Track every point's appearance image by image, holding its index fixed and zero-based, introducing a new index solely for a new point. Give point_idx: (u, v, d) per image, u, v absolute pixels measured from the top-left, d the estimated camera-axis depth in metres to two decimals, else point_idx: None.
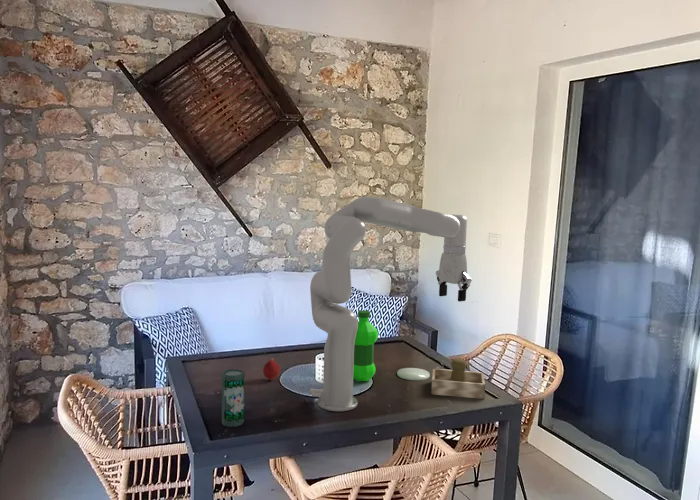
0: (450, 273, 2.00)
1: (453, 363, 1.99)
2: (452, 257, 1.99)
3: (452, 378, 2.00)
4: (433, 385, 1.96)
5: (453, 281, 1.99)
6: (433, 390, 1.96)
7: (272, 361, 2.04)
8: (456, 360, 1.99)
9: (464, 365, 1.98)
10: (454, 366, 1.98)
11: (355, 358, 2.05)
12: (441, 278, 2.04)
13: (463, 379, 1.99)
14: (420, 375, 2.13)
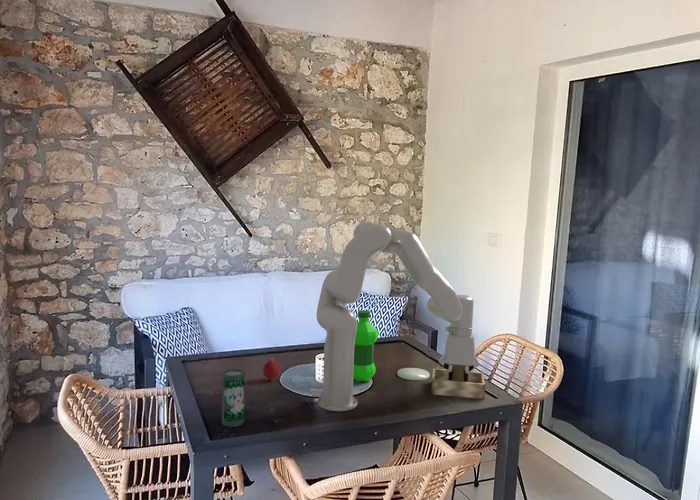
0: (464, 356, 1.97)
1: None
2: (467, 339, 1.96)
3: None
4: (433, 385, 1.96)
5: (469, 364, 1.97)
6: (433, 390, 1.96)
7: (272, 361, 2.04)
8: None
9: None
10: (454, 366, 1.98)
11: (355, 358, 2.05)
12: (450, 362, 1.98)
13: (463, 379, 1.99)
14: (420, 375, 2.13)
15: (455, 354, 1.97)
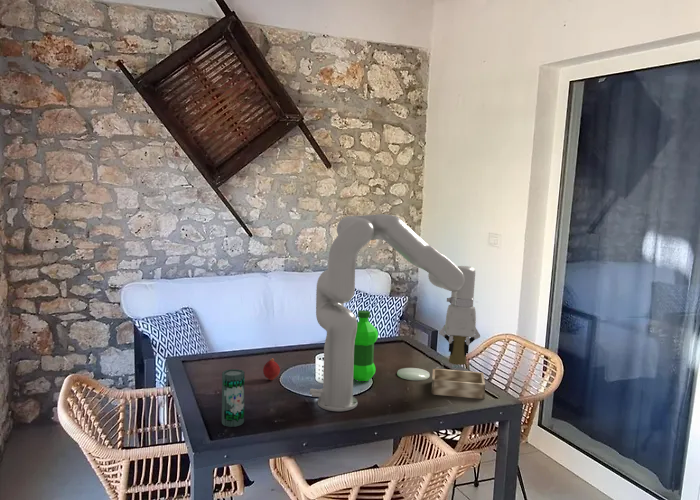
0: (465, 327, 1.95)
1: None
2: (468, 310, 1.95)
3: None
4: (433, 385, 1.96)
5: (470, 335, 1.95)
6: (433, 390, 1.96)
7: (272, 361, 2.04)
8: None
9: None
10: (455, 337, 1.97)
11: (355, 358, 2.05)
12: (451, 332, 1.96)
13: (463, 351, 1.98)
14: (420, 375, 2.13)
15: (456, 325, 1.96)
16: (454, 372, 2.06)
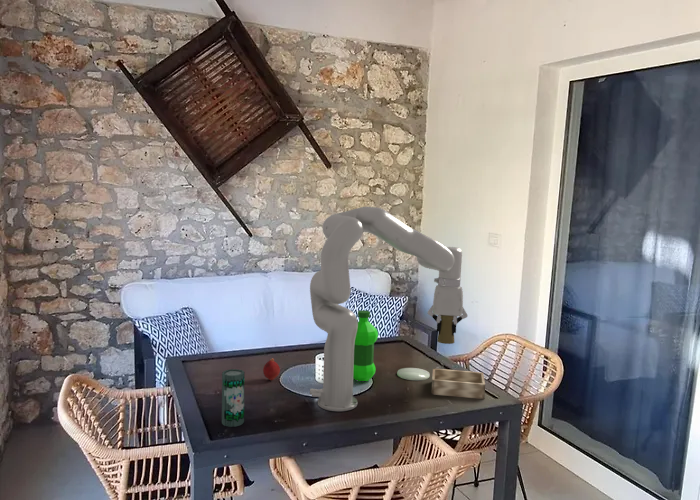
0: (452, 306, 1.99)
1: None
2: (455, 290, 1.98)
3: None
4: (433, 385, 1.96)
5: (457, 314, 1.99)
6: (433, 390, 1.96)
7: (272, 361, 2.04)
8: None
9: (452, 316, 2.00)
10: (442, 317, 2.01)
11: (355, 358, 2.05)
12: (438, 312, 2.00)
13: (451, 330, 2.01)
14: (420, 375, 2.13)
15: (443, 305, 1.99)
16: (454, 372, 2.06)
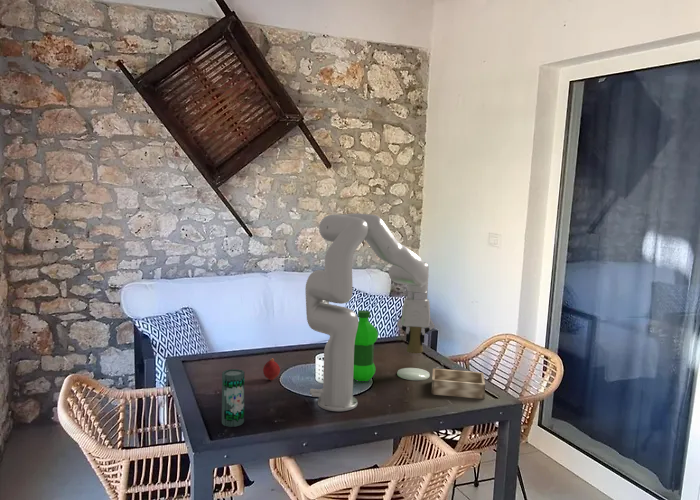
0: (420, 318, 2.10)
1: None
2: (422, 303, 2.09)
3: None
4: (433, 385, 1.96)
5: (424, 325, 2.10)
6: (433, 390, 1.96)
7: (272, 361, 2.04)
8: None
9: (420, 327, 2.12)
10: (411, 328, 2.12)
11: (355, 358, 2.05)
12: (407, 324, 2.11)
13: (419, 340, 2.12)
14: (420, 375, 2.13)
15: (411, 317, 2.11)
16: (454, 372, 2.06)
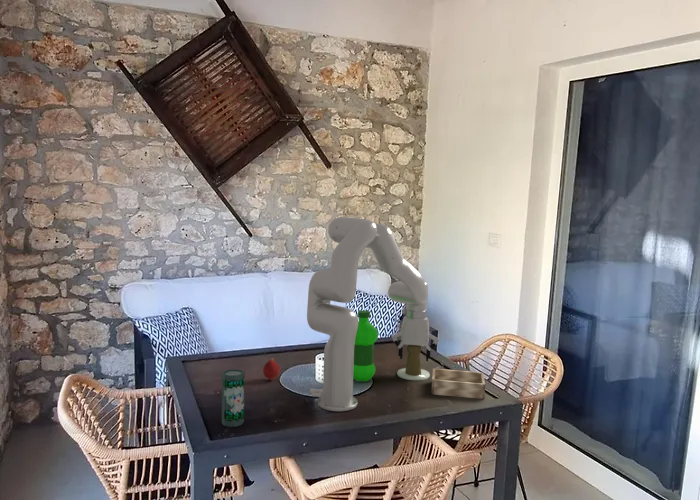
0: (419, 336, 2.11)
1: (408, 347, 2.13)
2: (421, 321, 2.10)
3: (408, 362, 2.14)
4: (433, 385, 1.96)
5: (423, 344, 2.11)
6: (433, 390, 1.96)
7: (272, 361, 2.04)
8: (411, 345, 2.13)
9: (419, 349, 2.12)
10: (409, 350, 2.13)
11: (355, 358, 2.05)
12: (406, 342, 2.12)
13: (418, 362, 2.13)
14: (420, 375, 2.13)
15: (411, 335, 2.11)
16: (454, 372, 2.06)
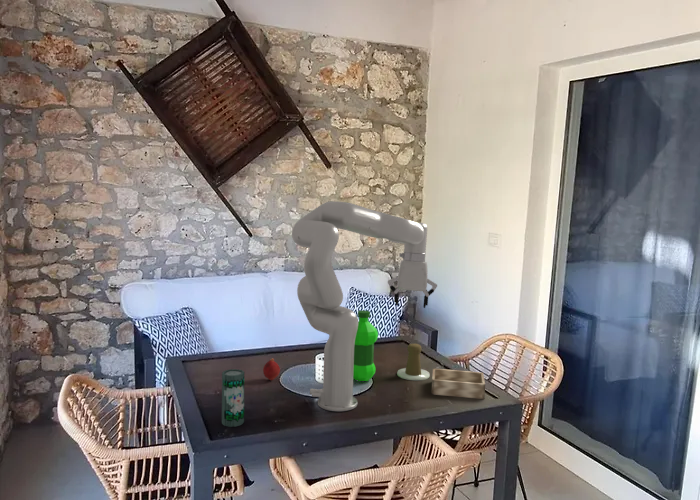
0: (416, 281, 2.00)
1: (409, 347, 2.13)
2: (419, 264, 1.99)
3: (408, 362, 2.14)
4: (433, 385, 1.96)
5: (421, 289, 2.00)
6: (433, 390, 1.96)
7: (272, 361, 2.04)
8: (412, 345, 2.13)
9: (419, 349, 2.12)
10: (410, 350, 2.13)
11: (355, 358, 2.05)
12: (403, 287, 2.01)
13: (418, 362, 2.13)
14: (420, 375, 2.13)
15: (408, 279, 2.00)
16: (454, 372, 2.06)
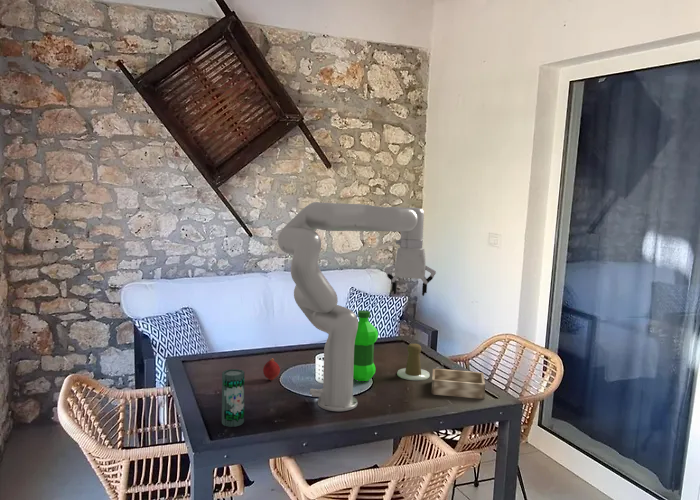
0: (414, 268, 1.93)
1: (409, 348, 2.13)
2: (417, 251, 1.93)
3: (408, 362, 2.14)
4: (433, 385, 1.96)
5: (419, 276, 1.93)
6: (433, 390, 1.96)
7: (272, 361, 2.04)
8: (411, 345, 2.13)
9: (419, 349, 2.12)
10: (409, 350, 2.13)
11: (355, 358, 2.05)
12: (400, 275, 1.94)
13: (418, 362, 2.13)
14: (420, 375, 2.13)
15: (405, 267, 1.94)
16: (454, 372, 2.06)
